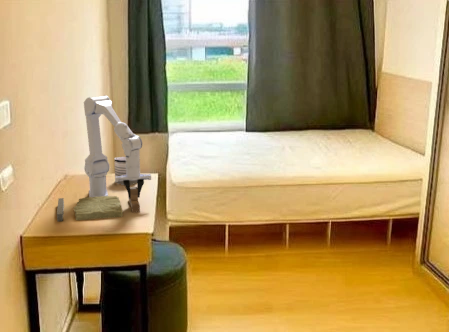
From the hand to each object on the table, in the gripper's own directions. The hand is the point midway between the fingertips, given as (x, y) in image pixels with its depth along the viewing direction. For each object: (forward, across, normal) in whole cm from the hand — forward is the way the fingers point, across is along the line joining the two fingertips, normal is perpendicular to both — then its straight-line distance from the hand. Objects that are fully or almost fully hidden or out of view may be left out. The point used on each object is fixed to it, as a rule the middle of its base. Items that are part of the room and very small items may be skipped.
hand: (134, 197), depth 232 cm
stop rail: (+4, -30, -2) cm, 30 cm away
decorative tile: (+5, -15, -2) cm, 16 cm away
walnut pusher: (+4, 0, 0) cm, 4 cm away
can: (+4, 0, +37) cm, 37 cm away
